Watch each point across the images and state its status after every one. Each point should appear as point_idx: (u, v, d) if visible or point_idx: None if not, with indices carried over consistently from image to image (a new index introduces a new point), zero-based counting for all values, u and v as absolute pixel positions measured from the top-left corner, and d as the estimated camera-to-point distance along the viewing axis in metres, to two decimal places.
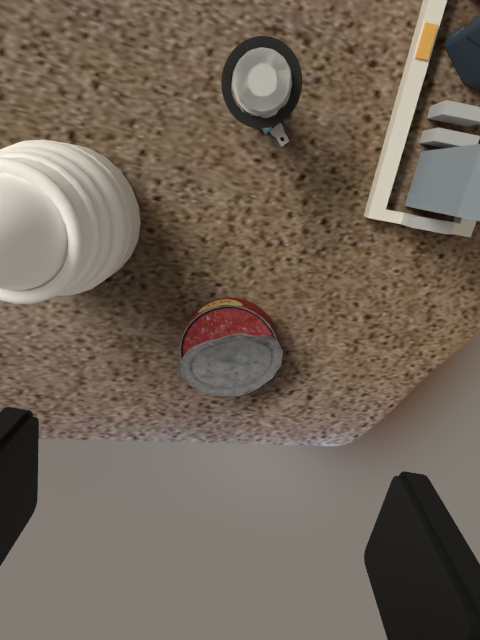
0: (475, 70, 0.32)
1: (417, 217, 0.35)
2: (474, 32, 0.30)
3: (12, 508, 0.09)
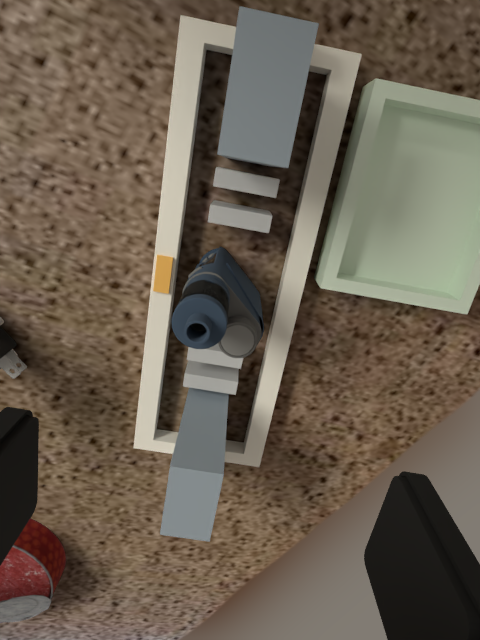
0: None
1: None
2: None
3: (12, 508, 0.09)
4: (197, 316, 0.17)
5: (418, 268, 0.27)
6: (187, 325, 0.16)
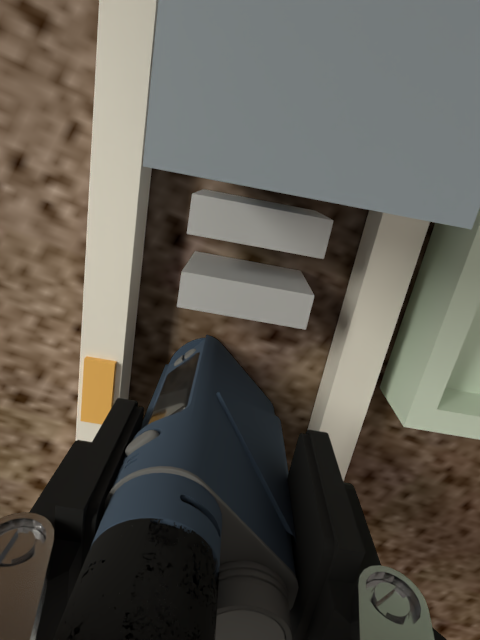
0: None
1: None
2: None
3: None
4: None
5: None
6: None
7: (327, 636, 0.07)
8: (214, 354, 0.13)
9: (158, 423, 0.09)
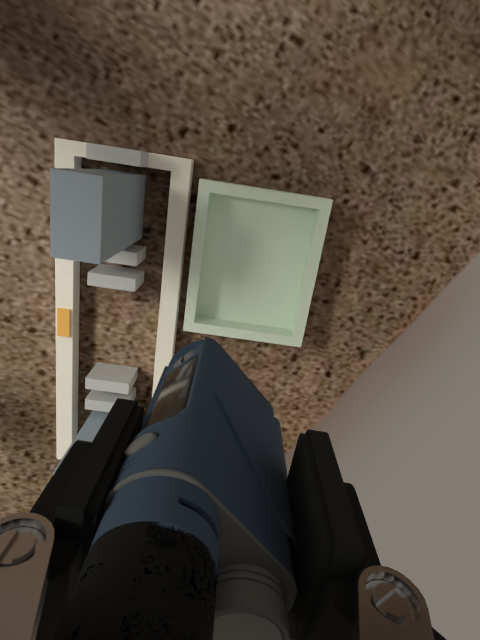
0: None
1: None
2: None
3: None
4: None
5: (265, 311, 0.34)
6: None
7: (327, 636, 0.07)
8: (213, 356, 0.13)
9: (157, 426, 0.09)
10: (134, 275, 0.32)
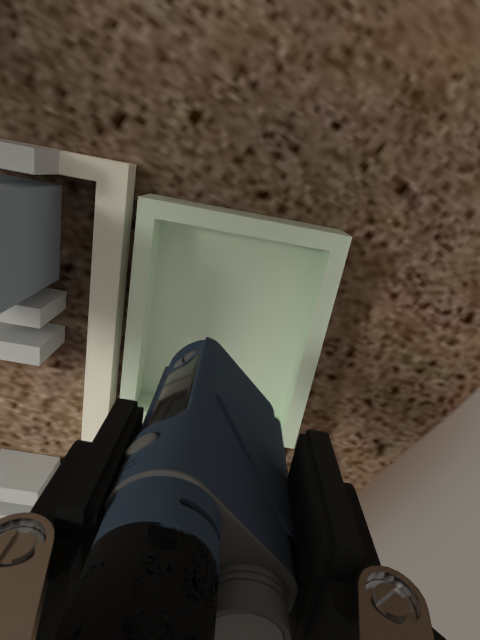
0: None
1: None
2: None
3: None
4: None
5: None
6: None
7: (327, 636, 0.07)
8: (214, 356, 0.13)
9: (158, 426, 0.09)
10: (42, 338, 0.21)
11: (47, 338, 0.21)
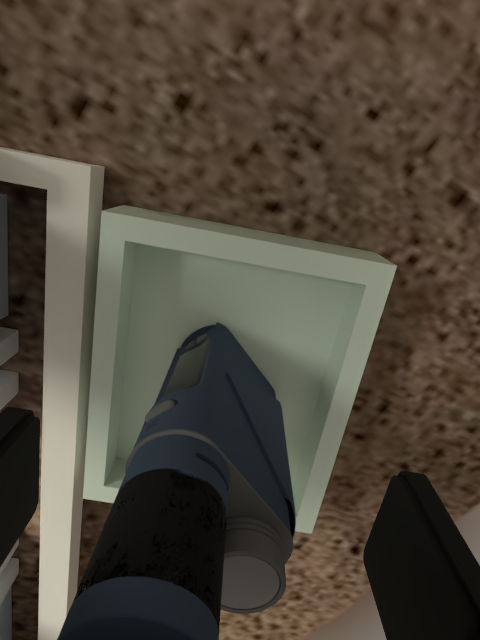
0: None
1: None
2: None
3: (13, 508, 0.09)
4: None
5: None
6: None
7: None
8: (224, 340, 0.15)
9: (175, 395, 0.11)
10: None
11: None
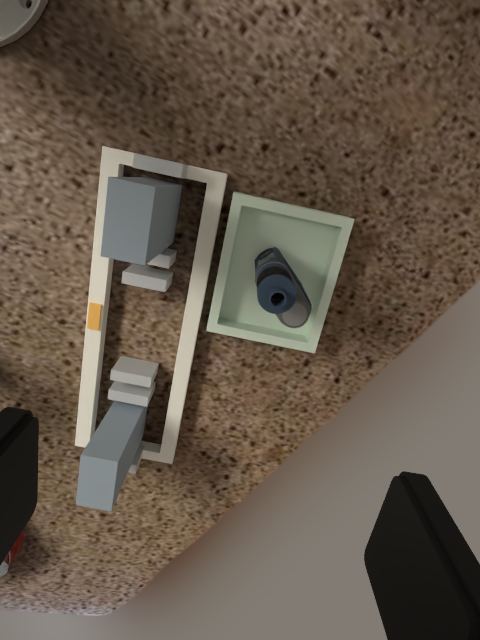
0: None
1: None
2: None
3: (12, 508, 0.09)
4: (278, 288, 0.23)
5: None
6: (272, 294, 0.23)
7: None
8: (279, 251, 0.33)
9: (268, 258, 0.29)
10: (165, 276, 0.34)
11: (167, 277, 0.34)
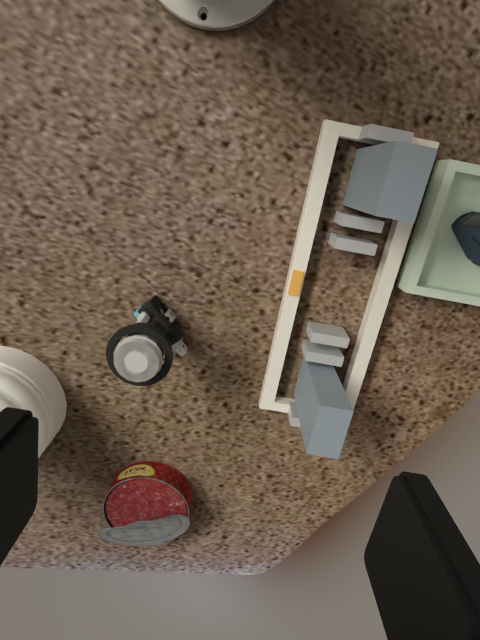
0: (478, 258, 0.35)
1: (295, 418, 0.41)
2: (478, 237, 0.33)
3: (12, 508, 0.09)
4: None
5: (470, 279, 0.39)
6: None
7: None
8: None
9: None
10: (371, 242, 0.36)
11: (373, 242, 0.37)
